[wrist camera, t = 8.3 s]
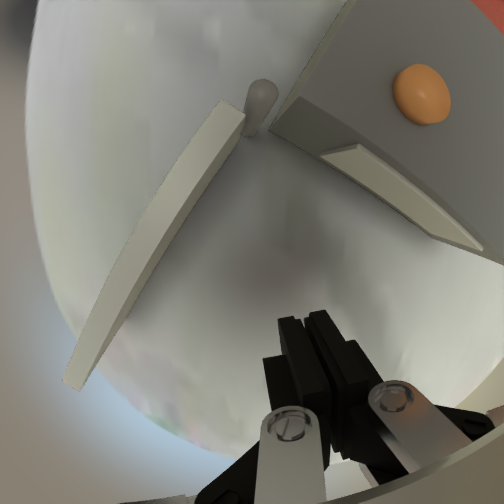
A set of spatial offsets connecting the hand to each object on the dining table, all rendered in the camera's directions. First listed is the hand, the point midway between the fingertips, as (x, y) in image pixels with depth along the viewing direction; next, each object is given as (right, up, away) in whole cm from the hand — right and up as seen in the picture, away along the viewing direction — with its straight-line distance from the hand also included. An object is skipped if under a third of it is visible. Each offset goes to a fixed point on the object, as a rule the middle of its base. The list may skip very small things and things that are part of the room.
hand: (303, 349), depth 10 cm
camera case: (+8, +13, +7) cm, 17 cm away
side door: (-6, +5, +7) cm, 11 cm away
